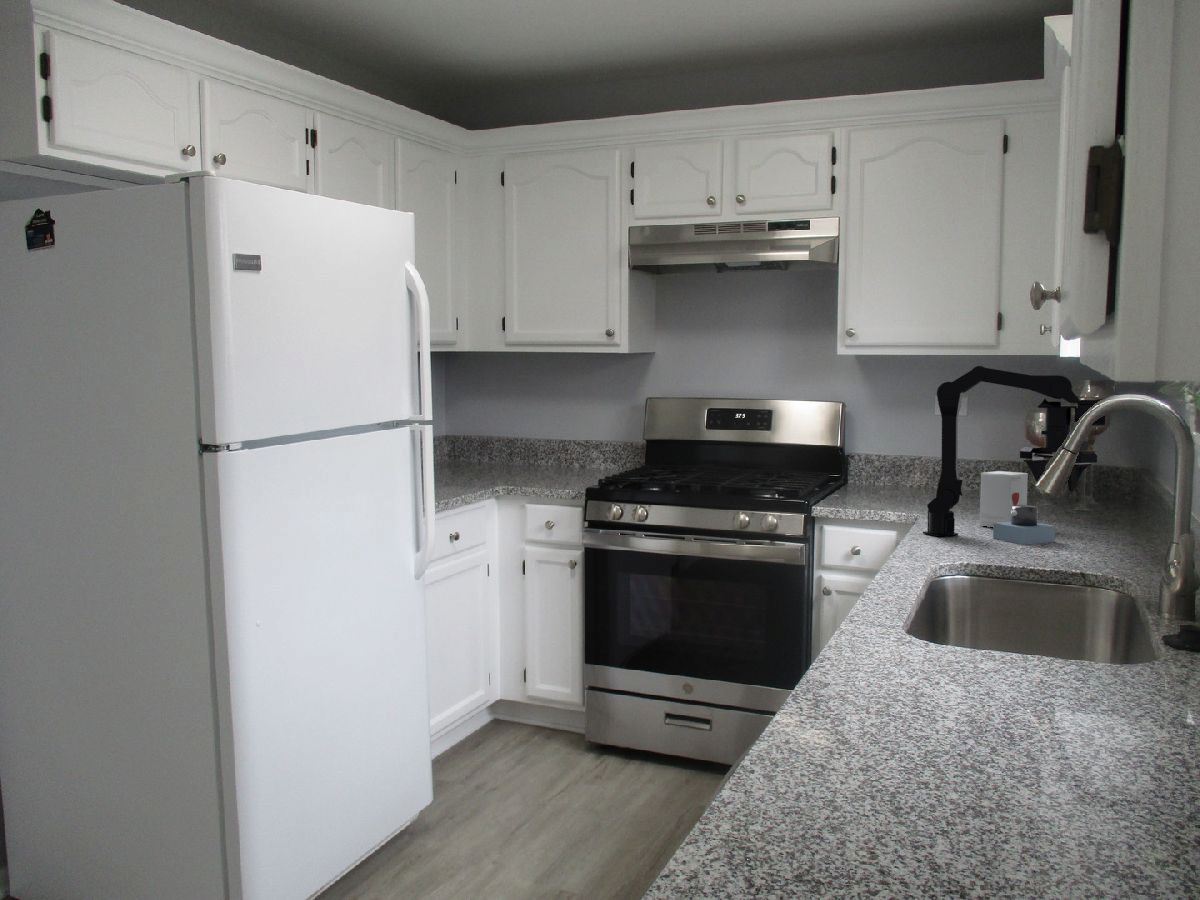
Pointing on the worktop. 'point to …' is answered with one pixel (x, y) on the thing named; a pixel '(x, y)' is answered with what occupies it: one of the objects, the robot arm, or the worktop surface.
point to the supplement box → (1001, 495)
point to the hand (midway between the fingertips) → (1056, 489)
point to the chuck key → (1024, 515)
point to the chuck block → (1024, 533)
